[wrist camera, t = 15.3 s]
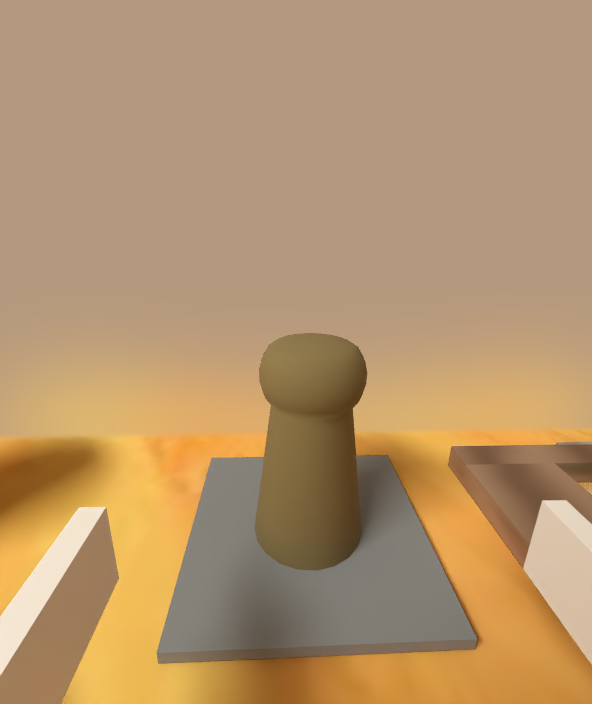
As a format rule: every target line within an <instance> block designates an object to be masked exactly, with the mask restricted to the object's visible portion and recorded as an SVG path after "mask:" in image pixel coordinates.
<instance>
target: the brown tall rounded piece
mask: <svg viewBox="0 0 592 704" xmlns="http://www.w3.org/2000/svg"><path fill="white" fill-rule="evenodd" d="M259 377H260V384H261V387H262V390H263V393H264V396H265V398H266V399H267V401H268V402H269V403H270V404H271V410H270V418H269V425H268V432H267V439H266V447H265V454H264V461H263V469H262V476H261V484H260V491H259V498H258V506H257V513H256V520H255V533H256V537H257V541H258V543H259V544H260V546H261V547H262V549H263V550H264V552H265V553H266V554H267V555H269V556H270V557H271V558H273V559H274V560H275V561H277V562H278V563H280V564H282V565H285V566H288V567H291V568H294V569H297V570H315V571H317V570H321V569H326V568H330V567H334V566H336V565H338V564H339V563H341V562H343V561H344V560H346V559H348V558H349V557H350V556H351V555H352V553H353V552H354V551H355V549H356V548H357V547H358V545H359V541H360V537H361V533H362V532H361V518H360V504H359V490H358V476H357V462H356V448H355V434H354V420H353V407H354V406H355V405H356V404H357V403H358V402H359V400H360V398H361V396H362V394H363V391H364V388H365V385H366V379H367V369H366V363H365V360H364V358H363V355H362V354H361V352H360V350H359V348H358V347H357V346H356V345H354V344H353V343H351V342H350V341H348V340H346V339H344V338H341V337H338V336H333V335H327V334H317V333H316V334H315V333H306V334H294V335H288V336H285V337H282V338H279V339H278V340H276V341H274V342H273V343H271V344H270V345H269V346H268V348H267V349H266V351H265V352H264V355H263V357H262V360H261V364H260V368H259Z"/></svg>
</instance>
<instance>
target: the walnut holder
mask: <svg viewBox="0 0 592 704" xmlns="http://www.w3.org/2000/svg"><path fill="white" fill-rule="evenodd" d="M448 465H449V467H450V468H451V470H452V471H453V472H454V474H455V475H456V476H457V478H458V479H459V481H460V482H461V483H462V485H463V486H464V488H465V489H466V490H467V492H468V493H469V494H470V496H471V497H472V499H473V500H474V501H475V503H476V504H477V505H478V507H479V508H480V510H481V511H482V512H483V514H484V515H485V517H486V518H487V519H488V521H489V522H490V523H491V525H492V526H493V528H494V529H495V530H496V532H497V533H498V534H499V536H500V537H501V539H502V540H503V541H504V543H505V544H506V545H507V547H508V548H509V550H510V551H511V552H512V554H513V555H514V557H515V558H516V559H517V561H518V562H519V563H520V565H521V566H522V568H523V567H524V564H525V560H526V556H527V553H528V549H529V546H530V542H531V539H532V535H533V531H534V528H535V524H536V521H537V517H538V514H539V510H540V506H541V503H542V501H543V500H567V501H568V502H569V503H570V504H571V505H572V506H573V507H574V508H575V509H576V510H577V511H578V512H579V513H580V514H581V515H582V516H583V517H585V518H586V519H587V520H588V521H589V522H590V523H591V524H592V495H591V494H590V493H589V492H588V491H587V490H585V489H584V488H583V487H582V486H581V485H580V484H578V483H577V482H592V442H564V443H556V445H512V446H451V452H450V457H449V463H448Z"/></svg>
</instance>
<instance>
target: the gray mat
mask: <svg viewBox="0 0 592 704" xmlns="http://www.w3.org/2000/svg"><path fill="white" fill-rule="evenodd" d="M263 461H264V457H243V458H212V459H211V462H210V466H209V469H208V473H207V476H206V480H205V483H204V487H203V491H202V494H201V498H200V501H199V505H198V508H197V512H196V515H195V519H194V523H193V526H192V530H191V533H190V537H189V540H188V544H187V547H186V551H185V554H184V558H183V562H182V565H181V569H180V572H179V576H178V579H177V583H176V586H175V590H174V594H173V597H172V601H171V604H170V608H169V611H168V615H167V618H166V622H165V626H164V629H163V633H162V636H161V640H160V643H159V647H158V650H157V658H158V663H180V662H202V661H224V660H246V659H269V658H291V657H313V656H335V655H357V654H380V653H402V652H424V651H446V650H469V649H475V648H476V644H477V637H476V635H475V633H474V631H473V629H472V627H471V625H470V623H469V621H468V619H467V617H466V614H465V612H464V610H463V608H462V606H461V604H460V602H459V600H458V598H457V596H456V594H455V592H454V590H453V588H452V586H451V584H450V582H449V580H448V578H447V576H446V574H445V572H444V570H443V567H442V565H441V563H440V561H439V559H438V557H437V555H436V553H435V551H434V549H433V547H432V545H431V543H430V541H429V539H428V537H427V535H426V533H425V531H424V529H423V527H422V525H421V522H420V520H419V518H418V516H417V514H416V512H415V510H414V508H413V506H412V504H411V502H410V500H409V498H408V496H407V494H406V492H405V490H404V488H403V486H402V484H401V482H400V480H399V478H398V475H397V473H396V471H395V469H394V467H393V465H392V463H391V461H390V459H389V457H388V455H366V456H356V462H357V476H358V490H359V504H360V518H361V532H362V533H361V537H360V541H359V545H358V547H357V548H356V549H355V551H354V552H353V553H352V555H351V556H350V557H349V558H348V559H346V560H344V561H343V562H341V563H339V564H338V565H336V566H334V567H330V568H326V569H321V570H317V571H315V570H297V569H294V568H291V567H288V566H285V565H282V564H280V563H278V562H277V561H275V560H274V559H273V558H271V557H270V556H269V555H267V554H266V553H265V552H264V550H263V549H262V547H261V546H260V544H259V543H258V541H257V537H256V533H255V520H256V513H257V506H258V498H259V491H260V484H261V476H262V469H263Z"/></svg>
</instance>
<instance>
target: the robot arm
mask: <svg viewBox="0 0 592 704" xmlns="http://www.w3.org/2000/svg"><path fill="white" fill-rule="evenodd" d="M523 569H524V571H525V572H526V574H527V575H528V576H529V578H530V579H531V581H532V582H533V583H534V585H535V586H536V588H537V589H538V590H539V592H540V593H541V595H542V596H543V597H544V599H545V600H546V602H547V603H548V604H549V606H550V607H551V609H552V610H553V611H554V613H555V614H556V616H557V617H558V618H559V620H560V621H561V623H562V624H563V625H564V627H565V628H566V630H567V631H568V632H569V634H570V635H571V637H572V638H573V639H574V641H575V642H576V644H577V645H578V646H579V648H580V649H581V651H582V652H583V653H584V655H585V656H586V658H587V659H588V660H589V662H590V663H591V665H592V524H591V523H590V522H589V521H588V520H587V519H586V518H585V517H583V516H582V515H581V514H580V513H579V512H578V511H577V510H576V509H575V508H574V507H573V506H572V505H571V504H570V503H569V502H568V501H567V500H543V501H542V503H541V506H540V510H539V514H538V517H537V521H536V524H535V528H534V531H533V535H532V539H531V542H530V546H529V549H528V553H527V556H526V560H525V564H524V567H523ZM118 579H119V576H118V570H117V565H116V559H115V554H114V548H113V543H112V537H111V531H110V526H109V520H108V515H107V509H106V507H79V508H78V510H77V511H76V512H75V514H74V515H73V517H72V518H71V519H70V521H69V522H68V523H67V525H66V526H65V528H64V529H63V530H62V532H61V533H60V535H59V536H58V537H57V539H56V540H55V542H54V543H53V544H52V546H51V547H50V548H49V550H48V551H47V553H46V554H45V555H44V557H43V558H42V560H41V561H40V562H39V564H38V565H37V566H36V568H35V569H34V571H33V572H32V573H31V575H30V576H29V578H28V579H27V580H26V582H25V583H24V584H23V586H22V587H21V589H20V590H19V591H18V593H17V594H16V596H15V597H14V598H13V600H12V601H11V603H10V604H9V605H8V607H7V608H6V609H5V611H4V612H3V614H2V615H1V616H0V704H61V702H62V700H63V698H64V696H65V694H66V691H67V689H68V687H69V685H70V683H71V681H72V679H73V676H74V674H75V672H76V670H77V668H78V666H79V663H80V661H81V659H82V657H83V655H84V653H85V650H86V648H87V646H88V644H89V642H90V640H91V637H92V635H93V633H94V631H95V629H96V627H97V624H98V622H99V620H100V618H101V616H102V614H103V611H104V609H105V607H106V605H107V603H108V601H109V598H110V596H111V594H112V592H113V590H114V588H115V585H116V583H117V581H118Z"/></svg>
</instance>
